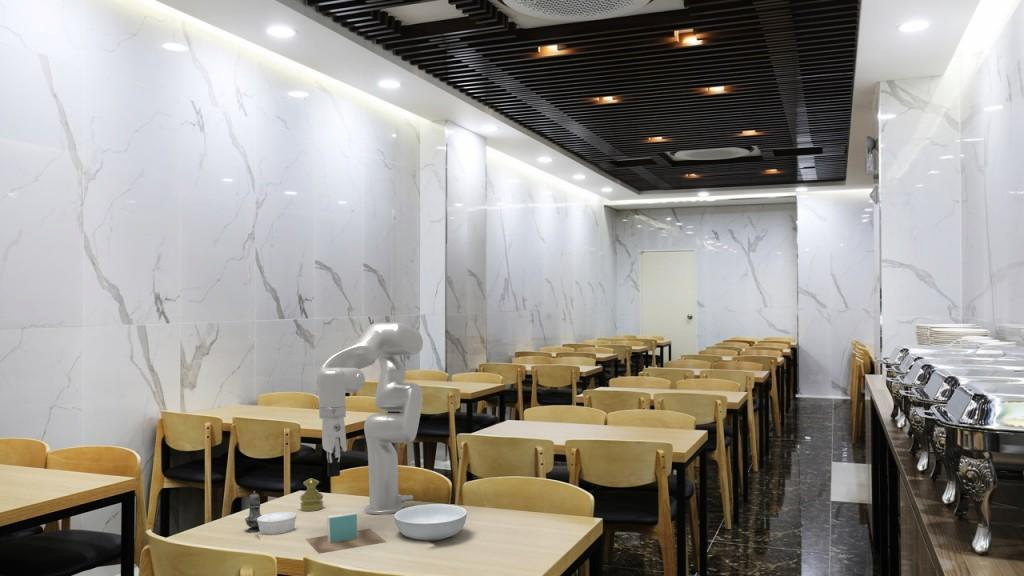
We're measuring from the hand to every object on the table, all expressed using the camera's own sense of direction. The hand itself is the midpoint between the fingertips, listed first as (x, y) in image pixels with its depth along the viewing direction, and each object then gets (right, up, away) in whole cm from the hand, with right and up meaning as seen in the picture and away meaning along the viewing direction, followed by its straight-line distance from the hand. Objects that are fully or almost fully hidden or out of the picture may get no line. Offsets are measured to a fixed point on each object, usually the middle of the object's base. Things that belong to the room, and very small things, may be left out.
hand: (333, 475), depth 235 cm
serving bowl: (+29, -17, -1) cm, 33 cm away
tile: (+4, -17, -6) cm, 18 cm away
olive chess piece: (-15, -20, +36) cm, 43 cm away
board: (+5, -18, -7) cm, 20 cm away
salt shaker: (-27, -19, +12) cm, 35 cm away
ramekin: (-18, -19, +7) cm, 28 cm away
